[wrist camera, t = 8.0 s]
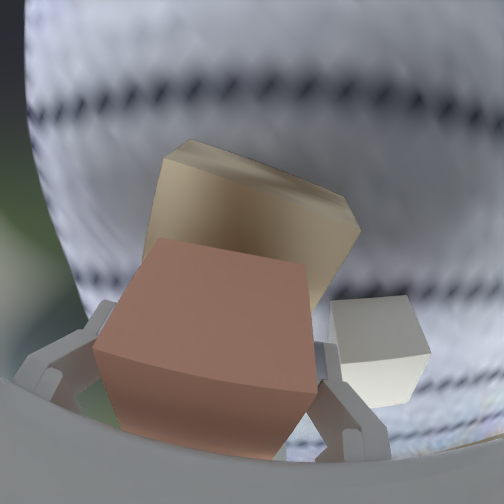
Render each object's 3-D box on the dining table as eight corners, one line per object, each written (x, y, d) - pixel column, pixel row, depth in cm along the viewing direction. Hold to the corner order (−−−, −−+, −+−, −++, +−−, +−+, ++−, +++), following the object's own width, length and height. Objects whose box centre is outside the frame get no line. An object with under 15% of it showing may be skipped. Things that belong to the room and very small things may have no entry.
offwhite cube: (406, 294, 18) (431, 353, 13) (391, 346, 20) (407, 402, 16) (330, 299, 18) (341, 363, 14) (325, 352, 21) (331, 412, 17)
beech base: (343, 194, 15) (361, 231, 12) (282, 307, 19) (281, 356, 16) (191, 137, 14) (163, 157, 11) (158, 265, 18) (134, 308, 15)
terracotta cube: (305, 264, 10) (318, 393, 6) (273, 358, 13) (268, 464, 9) (159, 237, 10) (91, 347, 6) (160, 336, 13) (124, 435, 8)
